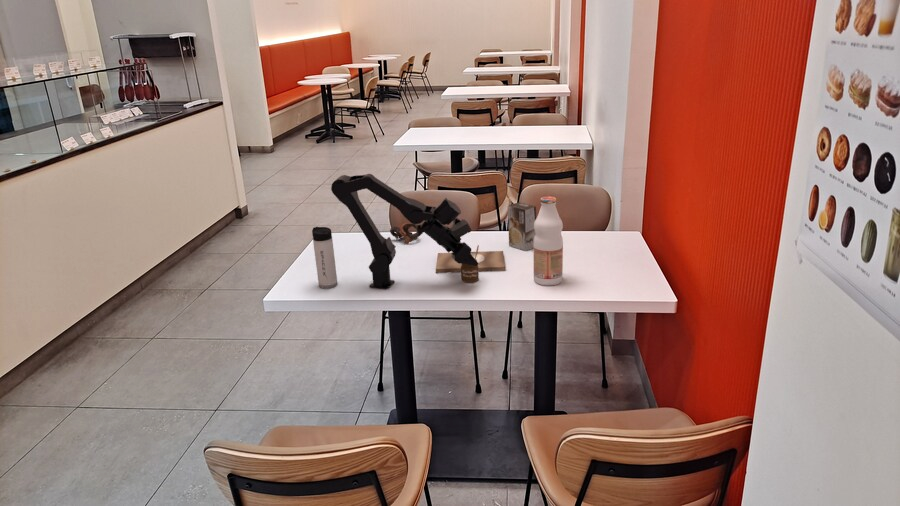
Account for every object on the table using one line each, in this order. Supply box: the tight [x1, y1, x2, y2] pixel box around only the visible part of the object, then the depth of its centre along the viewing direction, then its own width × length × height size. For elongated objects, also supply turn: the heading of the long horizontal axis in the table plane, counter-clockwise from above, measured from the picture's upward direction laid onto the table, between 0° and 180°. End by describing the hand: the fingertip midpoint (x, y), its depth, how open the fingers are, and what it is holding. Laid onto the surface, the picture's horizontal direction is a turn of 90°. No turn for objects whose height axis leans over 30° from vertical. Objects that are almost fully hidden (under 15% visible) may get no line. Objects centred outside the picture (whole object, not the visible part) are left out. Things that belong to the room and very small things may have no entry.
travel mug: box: [311, 226, 338, 289], centre depth 211 cm, size 6×7×20 cm
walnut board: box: [435, 250, 506, 274], centre depth 226 cm, size 24×16×2 cm, turn 88°
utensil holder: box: [460, 244, 480, 284], centre depth 211 cm, size 6×6×12 cm
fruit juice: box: [533, 196, 564, 286], centre depth 204 cm, size 9×9×28 cm
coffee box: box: [507, 201, 537, 252], centre depth 238 cm, size 9×6×16 cm
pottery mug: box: [389, 222, 420, 245], centre depth 253 cm, size 12×10×8 cm
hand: (473, 260), depth 210 cm, fingers open, 9 cm apart
